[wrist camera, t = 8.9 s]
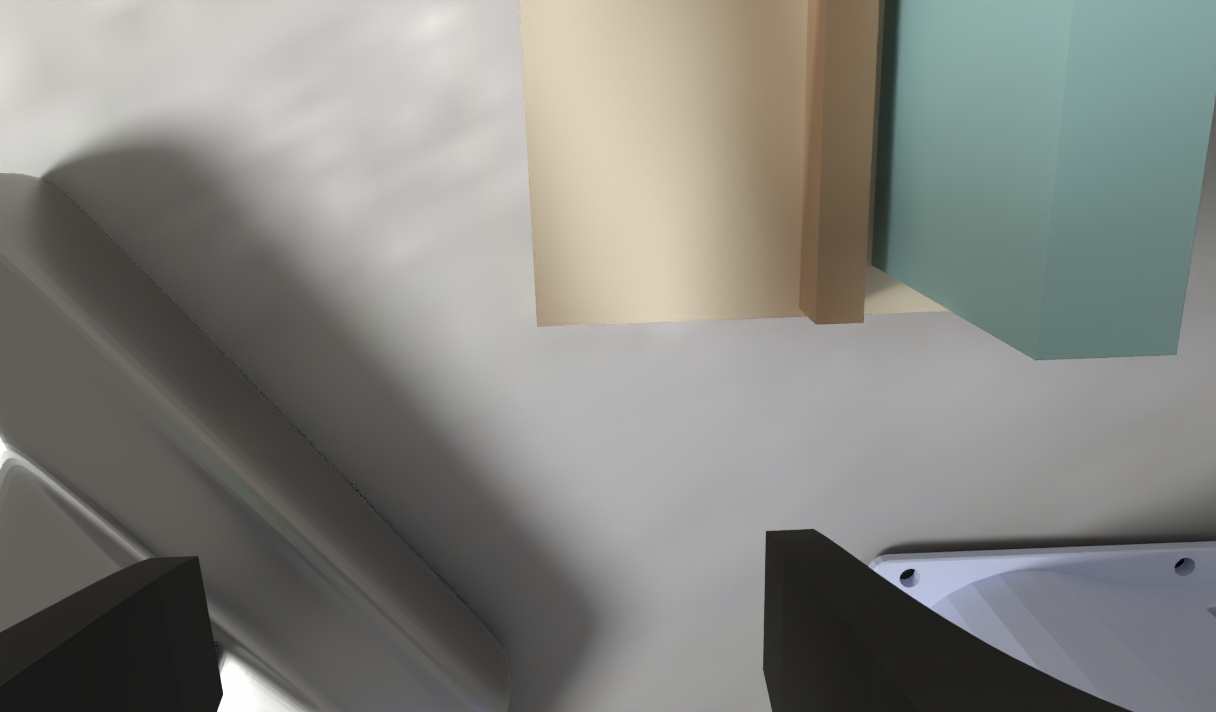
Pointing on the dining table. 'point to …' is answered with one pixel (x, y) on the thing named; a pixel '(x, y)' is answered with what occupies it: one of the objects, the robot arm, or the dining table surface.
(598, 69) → the rack
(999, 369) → the dining table surface
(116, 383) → the emblem
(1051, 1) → the teal panel
